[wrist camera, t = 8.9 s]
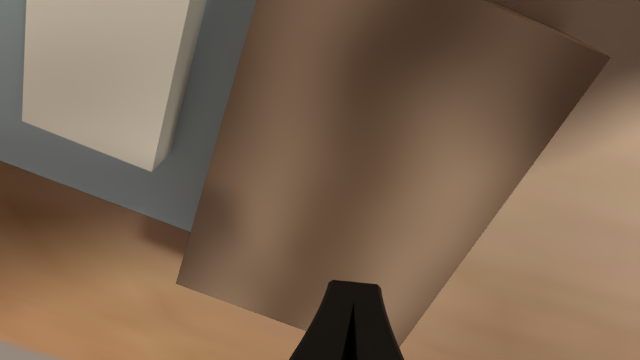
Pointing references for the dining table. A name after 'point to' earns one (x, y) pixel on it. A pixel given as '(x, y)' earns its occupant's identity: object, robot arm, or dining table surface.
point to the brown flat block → (373, 148)
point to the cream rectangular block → (110, 72)
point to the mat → (114, 174)
